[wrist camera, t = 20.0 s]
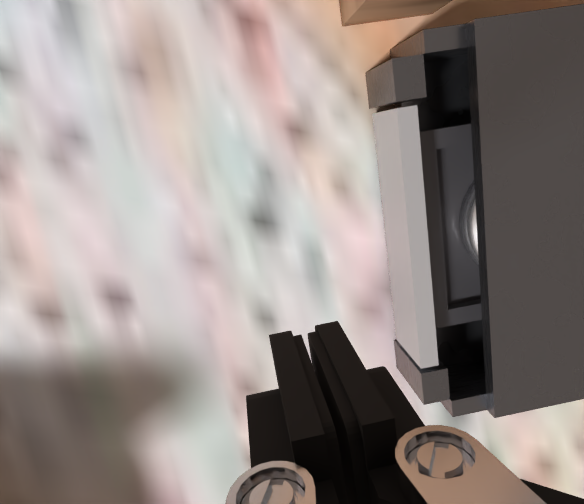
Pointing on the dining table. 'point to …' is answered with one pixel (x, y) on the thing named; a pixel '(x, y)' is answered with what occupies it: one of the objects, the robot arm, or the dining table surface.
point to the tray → (425, 228)
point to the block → (385, 9)
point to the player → (507, 202)
